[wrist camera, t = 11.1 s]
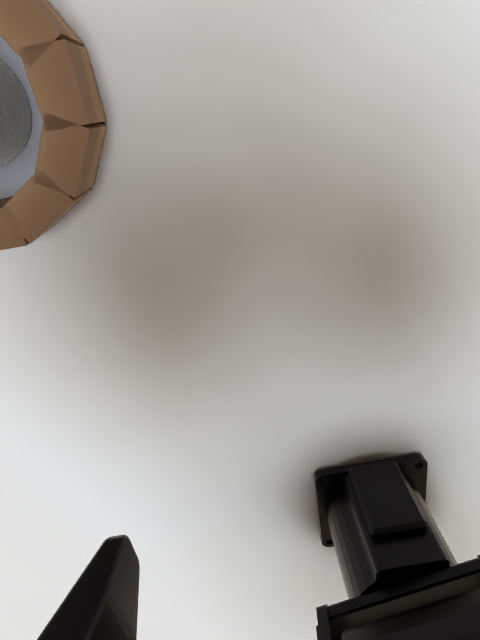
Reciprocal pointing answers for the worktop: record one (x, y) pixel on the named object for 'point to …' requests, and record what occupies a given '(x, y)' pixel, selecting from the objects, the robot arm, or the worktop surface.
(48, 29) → the brown segmented ring
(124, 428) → the worktop surface
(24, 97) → the grey metal peg
